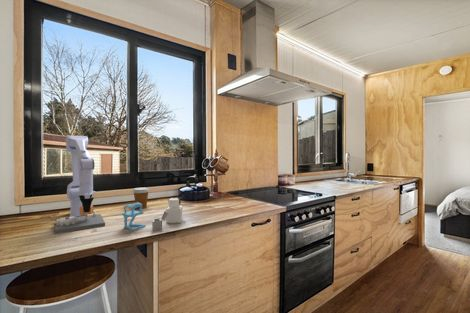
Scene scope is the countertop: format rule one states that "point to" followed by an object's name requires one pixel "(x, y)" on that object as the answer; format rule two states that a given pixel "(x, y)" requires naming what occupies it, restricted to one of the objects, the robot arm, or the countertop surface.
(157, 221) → the lighter
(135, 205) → the chair
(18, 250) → the countertop surface
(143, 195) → the disposable coffee cup
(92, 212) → the orange gear
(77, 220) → the gear board
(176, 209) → the medicine bottle
